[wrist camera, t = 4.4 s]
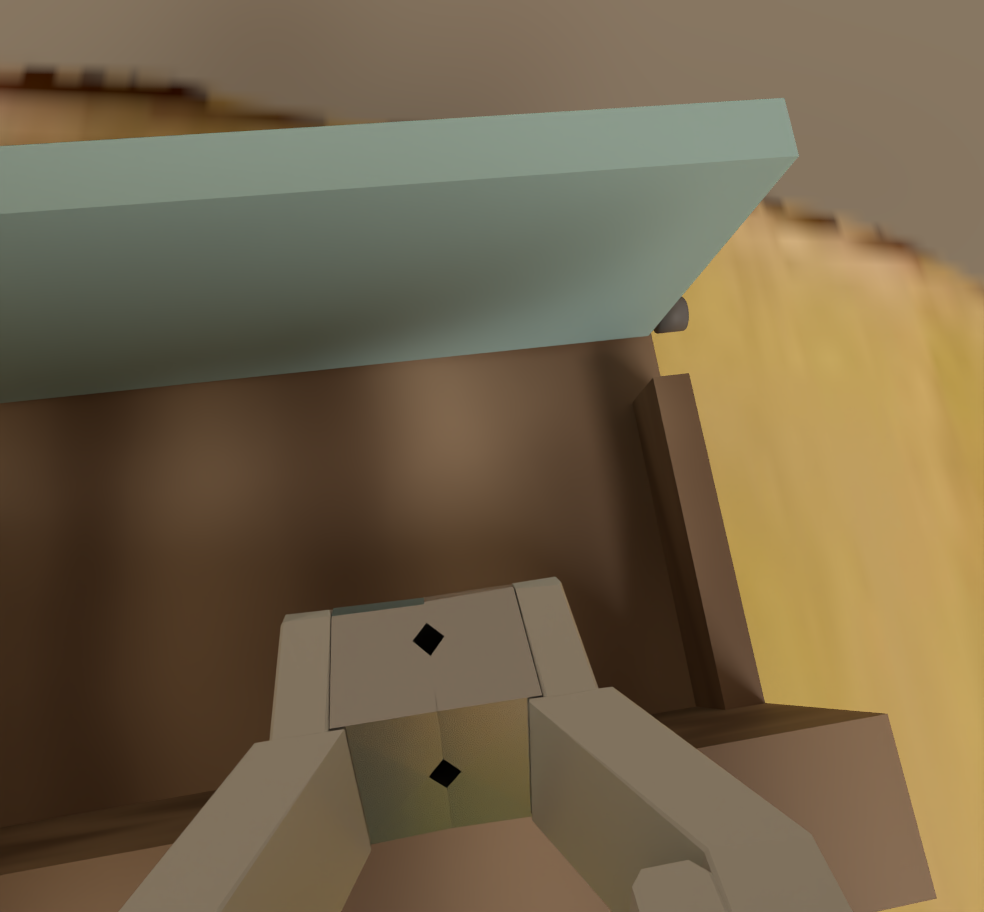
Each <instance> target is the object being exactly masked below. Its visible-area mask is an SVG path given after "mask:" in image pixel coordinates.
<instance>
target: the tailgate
mask: <svg viewBox="0 0 984 912" xmlns="http://www.w3.org/2000/svg"><path fill="white" fill-rule="evenodd" d="M798 156H799V155H798V151H797V147H796V143H795V139H794V135H793V131H792V127H791V123H790V119H789V115H788V111H787V107H786V103H785V99H784V98H778V99H762V100H761V99H759V100H743V101H727V102H713V103H694V104H680V105H664V106H663V105H662V106H646V107H629V108H613V109H597V110H581V111H565V112H548V113H532V114H516V115H500V116H483V117H467V118H451V119H434V120H418V121H402V122H386V123H369V124H353V125H337V126H321V127H304V128H288V129H272V130H256V131H239V132H223V133H207V134H190V135H174V136H158V137H142V138H125V139H109V140H93V141H77V142H60V143H44V144H28V145H12V146H0V403H8V402H17V401H27V400H37V399H46V398H56V397H66V396H75V395H85V394H94V393H104V392H114V391H123V390H133V389H142V388H152V387H162V386H171V385H181V384H191V383H200V382H210V381H219V380H229V379H239V378H248V377H258V376H268V375H277V374H287V373H296V372H306V371H316V370H325V369H335V368H344V367H354V366H364V365H373V364H383V363H393V362H402V361H412V360H421V359H431V358H441V357H450V356H460V355H470V354H479V353H489V352H498V351H508V350H518V349H527V348H537V347H546V346H556V345H566V344H575V343H585V342H595V341H604V340H614V339H623V338H633V337H643V336H649V335H650V333H651V332H652V331H653V330H654V329H655V327H656V326H657V325H658V324H659V323H660V321H661V320H662V319H663V318H664V317H665V315H666V314H667V313H668V312H669V311H670V309H671V308H672V307H673V306H674V305H675V303H676V302H677V301H678V300H679V299H680V297H681V296H682V295H683V294H684V293H685V291H686V290H687V289H688V288H689V287H690V285H691V284H692V283H693V282H694V281H695V280H696V278H697V277H698V276H699V275H700V274H701V272H702V271H703V270H704V269H705V268H706V266H707V265H708V264H709V263H710V262H711V260H712V259H713V258H714V257H715V256H716V254H717V253H718V252H719V251H720V250H721V248H722V247H723V246H724V245H725V244H726V242H727V241H728V240H729V239H730V238H731V236H732V235H733V234H734V233H735V232H736V231H737V229H738V228H739V227H740V226H741V225H742V223H743V222H744V221H745V220H746V219H747V217H748V216H749V215H750V214H751V213H752V211H753V210H754V209H755V208H756V207H757V205H758V204H759V203H760V202H761V201H762V199H763V198H764V197H765V196H766V195H767V193H768V192H769V191H770V190H771V189H772V187H773V186H774V185H775V184H776V183H777V181H778V180H779V179H780V178H781V177H782V176H783V174H784V173H785V172H786V171H787V170H788V168H789V167H790V166H791V164H793V162H794V161H795V160H796V159H797V158H798Z"/></svg>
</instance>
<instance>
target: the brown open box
mask: <svg viewBox="0 0 984 912" xmlns="http://www.w3.org/2000/svg"><path fill="white" fill-rule="evenodd" d="M688 320H689V312H688V306H687V303H686V301H685V299H684V298H683V297H680V299H679V300H678V301H677V302H676V303H675V305H674V306H673V307H672V308H671V309H670V311H669V312H668V313H667V314H666V315H665V317H664V318H663V319H662V320H661V321H660V323H659V324H658V325H657V326H656V327H655V329H654V332H655V333H667V332H676V331H684V330H685V329H686V328H687V325H688ZM550 577H556V578H557V579H558V580H559V581H560V582H561V584H562V586H563V589H564V592H565V595H566V598H567V601H568V603H569V606H570V609H571V612H572V615H573V618H574V620H575V623H576V626H577V629H578V632H579V635H580V637H581V640H582V643H583V646H584V649H585V652H586V654H587V657H588V660H589V663H590V666H591V669H592V671H593V674H594V677H595V680H596V683H597V685H598V688H606V687H614V688H615V689H616V690H618V691H619V692H620V693H622V694H623V695H624V696H626V697H627V698H629V699H630V700H631V701H633V702H634V703H635V704H637V705H638V706H639V707H641V708H642V709H643V710H645V711H646V712H647V713H649V714H650V715H651V716H653V717H654V718H655V719H657V720H658V721H660V722H661V723H662V724H664V725H665V726H666V727H668V728H669V729H670V730H672V731H673V732H674V733H676V734H677V735H678V736H680V737H681V738H682V739H684V740H685V741H686V742H688V743H689V744H691V745H692V746H693V747H695V748H696V749H697V750H699V751H700V752H701V753H703V754H704V755H705V756H707V757H708V758H709V759H711V760H712V761H713V762H715V763H716V764H717V765H719V766H720V767H722V768H723V769H724V770H726V771H727V772H728V773H730V774H731V775H732V776H734V777H735V778H736V779H738V780H739V781H740V782H742V783H743V784H744V785H746V786H747V787H748V788H750V789H751V790H753V791H754V792H755V793H757V794H758V795H759V796H761V797H762V798H763V799H765V800H766V801H767V802H769V803H770V804H771V805H773V806H774V807H775V808H777V809H778V810H779V811H781V812H782V813H784V814H785V815H786V816H788V817H789V818H790V819H792V820H793V821H794V822H796V823H797V824H798V825H800V826H801V827H802V828H804V829H805V830H806V831H808V832H809V833H810V834H812V836H813V838H814V840H815V842H816V844H817V846H818V848H819V849H820V851H821V853H822V855H823V857H824V859H825V861H826V863H827V864H828V866H829V868H830V870H831V872H832V874H833V876H834V878H835V879H836V881H837V883H838V885H839V887H840V889H841V891H842V893H843V894H844V896H845V898H846V900H847V902H848V904H849V906H850V908H851V909H852V911H853V912H877V911H882V910H886V909H891V908H895V907H900V906H904V905H909V904H913V903H918V902H922V901H927V900H932V899H936V898H937V897H936V894H935V890H934V886H933V882H932V879H931V875H930V871H929V867H928V864H927V860H926V856H925V853H924V849H923V845H922V841H921V838H920V834H919V830H918V826H917V823H916V819H915V815H914V811H913V808H912V804H911V800H910V796H909V793H908V789H907V785H906V781H905V778H904V774H903V770H902V767H901V763H900V759H899V755H898V752H897V748H896V744H895V740H894V737H893V733H892V729H891V725H890V722H889V718H888V714H883V713H872V712H860V711H849V710H838V709H826V708H815V707H803V706H792V705H781V704H769V703H765V701H764V697H763V693H762V688H761V684H760V680H759V675H758V671H757V667H756V662H755V658H754V654H753V649H752V645H751V641H750V636H749V632H748V628H747V623H746V619H745V615H744V610H743V606H742V602H741V597H740V593H739V589H738V584H737V580H736V576H735V571H734V567H733V563H732V558H731V554H730V550H729V545H728V541H727V537H726V532H725V528H724V524H723V519H722V515H721V511H720V506H719V502H718V498H717V493H716V489H715V485H714V480H713V476H712V472H711V467H710V463H709V459H708V454H707V450H706V446H705V441H704V437H703V433H702V428H701V424H700V420H699V415H698V411H697V407H696V402H695V398H694V394H693V389H692V385H691V380H690V376H689V373H687V374H678V375H669V376H660V372H659V368H658V363H657V359H656V354H655V350H654V345H653V341H652V336H651V333H650V335H649V336H643V337H633V338H623V339H614V340H604V341H595V342H585V343H575V344H566V345H556V346H546V347H537V348H527V349H518V350H508V351H498V352H489V353H479V354H470V355H460V356H450V357H441V358H431V359H421V360H412V361H402V362H393V363H383V364H373V365H364V366H354V367H344V368H335V369H325V370H316V371H306V372H296V373H287V374H277V375H268V376H258V377H248V378H239V379H229V380H219V381H210V382H200V383H191V384H181V385H171V386H162V387H152V388H142V389H133V390H123V391H114V392H104V393H94V394H85V395H75V396H66V397H56V398H46V399H37V400H27V401H17V402H8V403H0V912H119V910H120V909H121V908H122V907H123V905H124V904H125V903H126V902H127V900H128V899H129V898H130V897H131V895H132V894H133V893H134V892H135V890H136V889H137V888H138V887H139V886H140V884H141V883H142V882H143V881H144V879H145V878H146V877H147V876H148V874H149V873H150V872H151V871H152V869H153V868H154V867H155V866H156V864H157V863H158V862H159V861H160V859H161V858H162V857H163V856H164V855H165V853H166V852H167V851H168V850H169V848H170V847H171V846H172V845H173V843H174V842H175V841H176V840H177V838H178V837H179V836H180V835H181V833H182V832H183V831H184V830H185V828H186V827H187V826H188V825H189V824H190V822H191V821H192V820H193V819H194V817H195V816H196V815H197V814H198V812H199V811H200V810H201V809H202V807H203V806H204V805H205V804H206V802H207V801H208V800H209V799H210V797H211V796H212V795H213V794H214V793H215V791H216V790H217V789H218V788H219V786H220V785H221V784H222V783H223V781H224V780H225V779H226V778H227V776H228V775H229V774H230V773H231V771H232V770H233V769H234V768H235V767H236V765H237V764H238V763H239V762H240V760H241V759H242V758H243V757H244V755H245V754H246V753H247V752H248V750H249V749H250V748H251V747H252V745H253V744H254V743H258V742H264V741H269V739H270V729H271V719H272V709H273V698H274V688H275V678H276V668H277V658H278V648H279V638H280V628H281V624H282V622H283V619H284V617H285V615H287V614H296V613H305V612H314V611H323V610H333V608H339V607H348V606H356V605H364V604H373V603H381V602H390V601H398V600H407V599H415V598H423V597H429V596H435V595H442V594H449V593H455V592H462V591H469V590H475V589H482V588H489V587H495V586H502V585H509V584H510V585H511V586H512V583H518V582H524V581H531V580H537V579H543V578H550ZM451 826H452V824H451ZM370 846H371V852H370V854H369V856H368V858H367V860H366V862H365V864H364V866H363V868H362V870H361V872H360V874H359V876H358V878H357V880H356V882H355V884H354V886H353V888H352V890H351V892H350V894H349V897H348V899H347V901H346V903H345V905H344V907H343V909H342V911H341V912H612V911H611V910H610V909H609V907H608V906H607V905H606V904H605V903H604V902H603V901H602V899H601V898H600V897H599V896H598V895H597V894H596V893H595V891H594V890H593V889H592V888H591V887H590V886H589V885H588V884H587V882H586V881H585V880H584V879H583V878H582V877H581V876H580V874H579V873H578V872H577V871H576V870H575V869H574V868H573V866H572V865H571V864H570V863H569V862H568V861H567V860H566V858H565V857H564V856H563V855H562V854H561V853H560V852H559V850H558V849H557V848H556V847H555V846H554V845H553V844H552V843H551V841H550V840H549V839H548V838H547V837H546V836H545V835H544V833H543V832H542V831H541V830H540V829H539V828H538V827H537V825H536V824H535V823H534V822H533V821H532V817H525V818H518V819H511V820H505V821H498V822H491V823H484V824H477V825H470V826H464V827H457V828H450V829H445V830H440V831H435V832H431V833H426V834H421V835H416V836H411V837H406V838H401V839H396V840H391V841H386V842H381V843H376V844H372V845H370Z"/></svg>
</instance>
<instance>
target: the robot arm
mask: <svg viewBox="0 0 984 912" xmlns="http://www.w3.org/2000/svg"><path fill="white" fill-rule="evenodd" d="M525 817H532V821H533V822H534V823H535V824H536V825H537V827H538V828H539V829H540V830H541V831H542V832H543V833H544V835H545V836H546V837H547V838H548V839H549V840H550V841H551V843H552V844H553V845H554V846H555V847H556V848H557V849H558V850H559V852H560V853H561V854H562V855H563V856H564V857H565V858H566V860H567V861H568V862H569V863H570V864H571V865H572V866H573V868H574V869H575V870H576V871H577V872H578V873H579V874H580V876H581V877H582V878H583V879H584V880H585V881H586V882H587V884H588V885H589V886H590V887H591V888H592V889H593V890H594V891H595V893H596V894H597V895H598V896H599V897H600V898H601V899H602V901H603V902H604V903H605V904H606V905H607V906H608V907H609V909H610V910H611V911H612V912H853V911H852V909H851V908H850V906H849V904H848V902H847V900H846V898H845V896H844V894H843V893H842V891H841V889H840V887H839V885H838V883H837V881H836V879H835V878H834V876H833V874H832V872H831V870H830V868H829V866H828V864H827V863H826V861H825V859H824V857H823V855H822V853H821V851H820V849H819V848H818V846H817V844H816V842H815V840H814V838H813V836H812V834H810V833H809V832H808V831H806V830H805V829H804V828H802V827H801V826H800V825H798V824H797V823H796V822H794V821H793V820H792V819H790V818H789V817H788V816H786V815H785V814H784V813H782V812H781V811H779V810H778V809H777V808H775V807H774V806H773V805H771V804H770V803H769V802H767V801H766V800H765V799H763V798H762V797H761V796H759V795H758V794H757V793H755V792H754V791H753V790H751V789H750V788H748V787H747V786H746V785H744V784H743V783H742V782H740V781H739V780H738V779H736V778H735V777H734V776H732V775H731V774H730V773H728V772H727V771H726V770H724V769H723V768H722V767H720V766H719V765H717V764H716V763H715V762H713V761H712V760H711V759H709V758H708V757H707V756H705V755H704V754H703V753H701V752H700V751H699V750H697V749H696V748H695V747H693V746H692V745H691V744H689V743H688V742H686V741H685V740H684V739H682V738H681V737H680V736H678V735H677V734H676V733H674V732H673V731H672V730H670V729H669V728H668V727H666V726H665V725H664V724H662V723H661V722H660V721H658V720H657V719H655V718H654V717H653V716H651V715H650V714H649V713H647V712H646V711H645V710H643V709H642V708H641V707H639V706H638V705H637V704H635V703H634V702H633V701H631V700H630V699H629V698H627V697H626V696H624V695H623V694H622V693H620V692H619V691H618V690H616V689H615V688H614V687H606V688H598V685H597V683H596V680H595V677H594V674H593V671H592V669H591V666H590V663H589V660H588V657H587V654H586V652H585V649H584V646H583V643H582V640H581V637H580V635H579V632H578V629H577V626H576V623H575V620H574V618H573V615H572V612H571V609H570V606H569V603H568V601H567V598H566V595H565V592H564V589H563V586H562V584H561V582H560V581H559V580H558V579H557V578H556V577H550V578H543V579H537V580H531V581H524V582H518V583H512V586H511V585H510V584H509V585H502V586H495V587H489V588H482V589H475V590H469V591H462V592H455V593H449V594H442V595H435V596H429V597H423V598H415V599H407V600H398V601H390V602H381V603H373V604H364V605H356V606H348V607H339V608H333V610H323V611H314V612H305V613H296V614H287V615H285V617H284V619H283V622H282V624H281V628H280V638H279V648H278V658H277V668H276V678H275V688H274V698H273V709H272V719H271V729H270V739H269V741H264V742H258V743H254V744H253V745H252V747H251V748H250V749H249V750H248V752H247V753H246V754H245V755H244V757H243V758H242V759H241V760H240V762H239V763H238V764H237V765H236V767H235V768H234V769H233V770H232V771H231V773H230V774H229V775H228V776H227V778H226V779H225V780H224V781H223V783H222V784H221V785H220V786H219V788H218V789H217V790H216V791H215V793H214V794H213V795H212V796H211V797H210V799H209V800H208V801H207V802H206V804H205V805H204V806H203V807H202V809H201V810H200V811H199V812H198V814H197V815H196V816H195V817H194V819H193V820H192V821H191V822H190V824H189V825H188V826H187V827H186V828H185V830H184V831H183V832H182V833H181V835H180V836H179V837H178V838H177V840H176V841H175V842H174V843H173V845H172V846H171V847H170V848H169V850H168V851H167V852H166V853H165V855H164V856H163V857H162V858H161V859H160V861H159V862H158V863H157V864H156V866H155V867H154V868H153V869H152V871H151V872H150V873H149V874H148V876H147V877H146V878H145V879H144V881H143V882H142V883H141V884H140V886H139V887H138V888H137V889H136V890H135V892H134V893H133V894H132V895H131V897H130V898H129V899H128V900H127V902H126V903H125V904H124V905H123V907H122V908H121V909H120V910H119V912H341V911H342V909H343V907H344V905H345V903H346V901H347V899H348V897H349V894H350V892H351V890H352V888H353V886H354V884H355V882H356V880H357V878H358V876H359V874H360V872H361V870H362V868H363V866H364V864H365V862H366V860H367V858H368V856H369V854H370V852H371V846H370V845H372V844H376V843H381V842H386V841H391V840H396V839H401V838H406V837H411V836H416V835H421V834H426V833H431V832H435V831H440V830H445V829H450V828H457V827H464V826H470V825H477V824H484V823H491V822H498V821H505V820H511V819H518V818H525ZM451 824H452V826H451Z"/></svg>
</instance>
